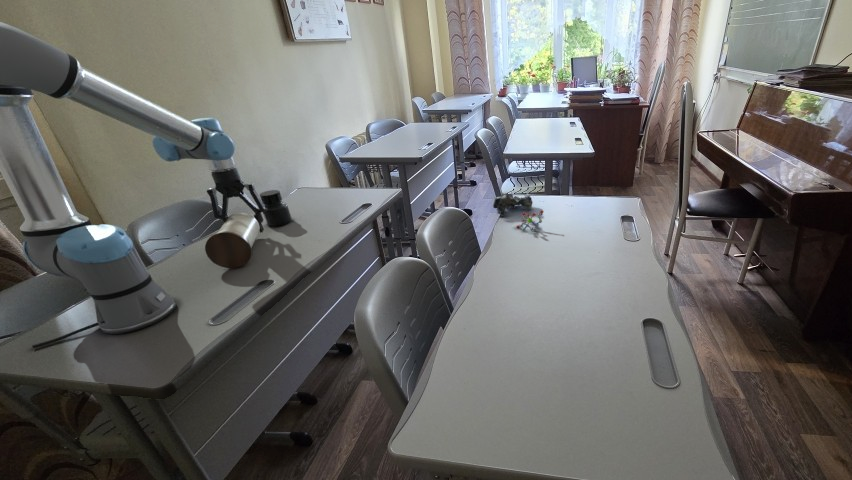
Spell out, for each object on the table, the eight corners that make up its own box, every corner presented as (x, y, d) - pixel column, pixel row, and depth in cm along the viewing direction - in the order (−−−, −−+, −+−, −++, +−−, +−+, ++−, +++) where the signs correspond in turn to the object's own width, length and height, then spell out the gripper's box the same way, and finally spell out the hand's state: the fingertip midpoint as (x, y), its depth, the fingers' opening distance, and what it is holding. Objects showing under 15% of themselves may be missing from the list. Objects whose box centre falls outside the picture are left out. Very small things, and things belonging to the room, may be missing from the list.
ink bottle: (278, 217, 161) (268, 188, 154) (297, 218, 159) (288, 189, 153) (261, 227, 152) (250, 196, 146) (281, 227, 151) (270, 197, 145)
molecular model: (545, 230, 137) (545, 209, 134) (525, 235, 134) (525, 214, 131) (534, 223, 143) (534, 203, 139) (515, 228, 140) (514, 208, 136)
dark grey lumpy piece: (538, 206, 148) (503, 187, 143) (523, 229, 153) (489, 212, 148) (534, 195, 158) (501, 176, 153) (519, 217, 163) (487, 200, 158)
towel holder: (214, 271, 122) (197, 236, 116) (235, 236, 146) (223, 205, 140) (257, 264, 125) (243, 229, 119) (271, 230, 149) (260, 200, 143)
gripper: (260, 162, 136) (281, 224, 147) (190, 170, 131) (218, 234, 142) (256, 167, 130) (279, 232, 141) (182, 176, 124) (212, 242, 136)
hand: (248, 233), depth 142 cm, fingers open, 8 cm apart
